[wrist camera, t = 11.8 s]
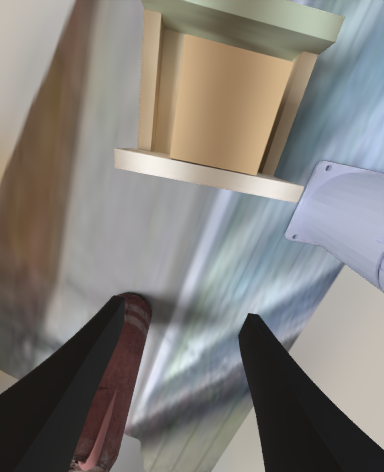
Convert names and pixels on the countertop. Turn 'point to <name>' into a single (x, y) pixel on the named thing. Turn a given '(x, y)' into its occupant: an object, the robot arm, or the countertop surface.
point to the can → (114, 393)
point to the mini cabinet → (226, 104)
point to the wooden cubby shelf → (234, 34)
